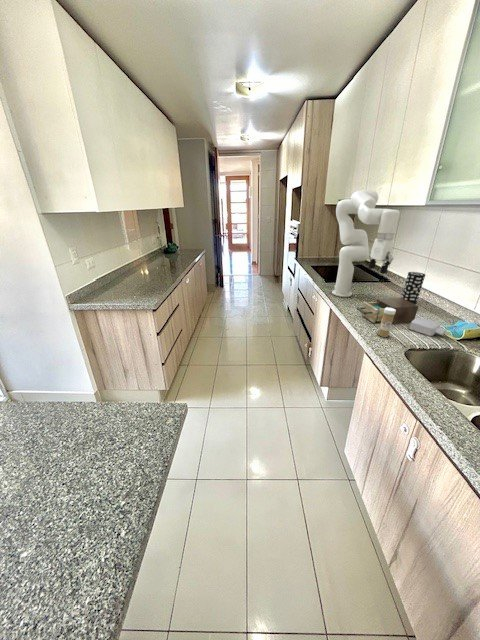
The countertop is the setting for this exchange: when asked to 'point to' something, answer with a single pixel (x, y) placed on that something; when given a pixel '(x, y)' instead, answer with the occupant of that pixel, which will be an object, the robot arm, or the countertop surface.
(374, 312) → the tray
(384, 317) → the sprinkles bottle
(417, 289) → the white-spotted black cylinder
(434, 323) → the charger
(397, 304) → the cabinet
